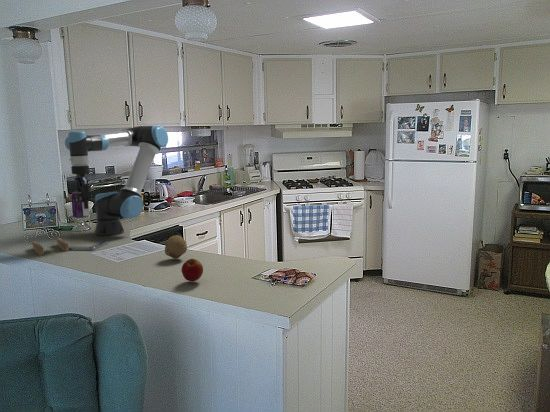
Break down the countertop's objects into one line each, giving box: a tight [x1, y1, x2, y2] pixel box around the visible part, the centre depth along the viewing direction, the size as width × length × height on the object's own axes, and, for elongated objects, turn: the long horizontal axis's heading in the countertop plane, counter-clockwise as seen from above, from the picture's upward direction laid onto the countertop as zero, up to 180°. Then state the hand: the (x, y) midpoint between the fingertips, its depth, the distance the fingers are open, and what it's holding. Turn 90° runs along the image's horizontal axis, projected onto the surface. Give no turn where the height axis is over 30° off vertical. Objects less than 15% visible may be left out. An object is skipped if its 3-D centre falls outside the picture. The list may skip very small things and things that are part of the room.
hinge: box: [68, 240, 108, 252], centre depth 213 cm, size 11×19×1 cm, turn 128°
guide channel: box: [31, 237, 70, 257], centre depth 211 cm, size 12×16×4 cm
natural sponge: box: [164, 235, 188, 259], centre depth 192 cm, size 9×9×10 cm
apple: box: [181, 258, 204, 282], centre depth 163 cm, size 8×8×8 cm
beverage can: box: [70, 191, 90, 219], centre depth 214 cm, size 7×7×12 cm
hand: (84, 214), depth 215 cm, fingers closed on beverage can, 5 cm apart
